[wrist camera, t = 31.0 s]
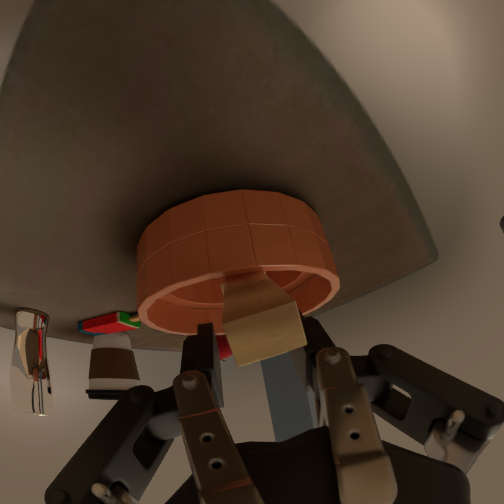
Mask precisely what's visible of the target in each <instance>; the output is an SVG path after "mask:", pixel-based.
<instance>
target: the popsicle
mask: <svg viewBox="0 0 504 504" xmlns="http://www.w3.org/2000/svg"><path fill="white" fill-rule="evenodd" d="M137 328H141V325H140V319H139V315H137V316H132V315H129V314H127V313H124V312H121V311H120V312H116V313H112V314H108V315H105V316H101V317H97V318H93V319H90V320H86V321H82V322H78V332H82V333H85V334H88V335H92V336H97V335H103V334H109V333H115V332H121V331H126V330H132V329H137Z"/></svg>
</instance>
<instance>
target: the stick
mask: <svg viewBox="0 0 504 504" xmlns="http://www.w3.org/2000/svg"><path fill="white" fill-rule="evenodd" d="M220 287H221V290H222V293H223V295H224V297H223V318H222V326H223V329H224V332H225V334H226V337H227V340H228V343H229V346H230V348H231V351H232V354H233V357H234V359H235V362H236V365H237V366H238V367H240V366H244V365H247V364H250V363H254V362H257V361H260V360H264V359H267V358H270V357H273V356H276V355H279V354H282V353H285V352H288V351H291V350H294V349H297V348H299V347H302V346H305V345H307V340H306V336H305V333H304V329H303V325H302V322H301V318H300V314H299V311H298V307H297V303H296V301H295V300H294V299H293V298H292V297H291V296H289V295H288V294H287V293H286V292H285V291H284V290H283V289H282V288H280V287H279V286H278V285H277V284H276V283H275V282H274V281H273V280H271V279H270V278H269V277H268V276H267V275H266V273H265V271H253V272H247V273H241V274H235V275H228V276H222V277H221V279H220Z"/></svg>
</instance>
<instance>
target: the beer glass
mask: <svg viewBox="0 0 504 504" xmlns="http://www.w3.org/2000/svg"><path fill="white" fill-rule="evenodd" d="M48 323H49V317H48V316H47V315H46V314H44V313H42V312H40V311H37V310H33V309H27V308H19V309H16V310H15V342H14V348H13V353H12V359H11V367H10V368H11V369H10V387H11V396H12V402H13V410H14V411H18V412H22V413H29V414H36V415H48V416H50V415H53V393H52V380H51V373H50V368H49V361H48V356H47V349H46V333H47V328H48Z"/></svg>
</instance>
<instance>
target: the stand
mask: <svg viewBox="0 0 504 504" xmlns="http://www.w3.org/2000/svg"><path fill="white" fill-rule="evenodd" d="M260 361H261V366H262V371H263V376H264V381H265V387H266V392H267V398H268V403H269V408H270V413H271V418H272V424H273V429H274V434H275V439H276V442H282V441H285V440H287V439H290V438H292V437H294V436H296V435H298V434H301V433H303V432H305V431H307V430H310V429H314V428H317V422H316V413H315V404H314V397H315V395H314V393H313V391H311V392H307V393H306V392H305V390H304V387H303V385H302V383H301V380H300V378H299V376H298V373H297V371H296V369H295V366H294V364H293V361H292V359H291V357H290V354H289V352H285V353H282V354H279V355H276V356H273V357H270V358H267V359H264V360H260Z"/></svg>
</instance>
